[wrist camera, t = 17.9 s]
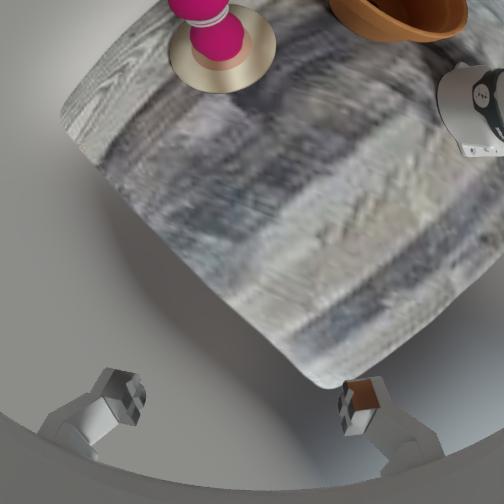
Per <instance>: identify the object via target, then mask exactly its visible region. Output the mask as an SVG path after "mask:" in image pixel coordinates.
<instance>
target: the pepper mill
mask: <svg viewBox="0 0 504 504" xmlns="http://www.w3.org/2000/svg"><path fill="white" fill-rule="evenodd" d="M168 2H169V6H170V8H171V10H172V11H173V12H174V13H175V14H176V15H177V16H178V17H180V18H182V19H185V21H186V22H187V23H188V24H190V25H192V26H191V29H190V41H191V43H192V45H193V47H194V48H195V49H196V50H197V51H198V52H199V53H201V54H203V55H204V56H205V57H207V58H208V59H210V60H212V61H226V60H229V59H232V58H233V57H235V56H236V55H237V54H238V53H239V52H240V50H241V49H242V45H243V38H244V28H243V25H242V23H241V21H240V20H239V19H238V18H237V17H236V16H235V15H234V14H232V13H230V12H228V10H229V5H228V2H229V0H168Z"/></svg>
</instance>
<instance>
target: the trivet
mask: <svg viewBox="0 0 504 504" xmlns="http://www.w3.org/2000/svg"><path fill="white" fill-rule="evenodd" d="M228 12H230V13H232V14H234V15H235V16H236V17H237V18H238V19H239V20H240V21H241V23H242V25H243V28H244V38H243V45H242V49H241V50H240V52H239V53H238V54H237V55H236V56H235V57H233V58H232V59H229V60H226V61H212V60H210V59H208V58H207V57H205V56H204V55H203V54H201V53H199V52H198V51H197V50H196V49H195V48H194V47H193V45H192V43H191V41H190V29H191V26H192V25H190V24H188V23H187V22H186V21H185V22H184V23H183V24H182V25H181V26H180V27H179V28H178V30H177V31H176V33H175V35H174V37H173V39H172V42H171V46H170V60H171V64H172V67H173V69H174V71H175V72H176V74H177V75H178V76H179V78H180V79H182V80H183V81H184V82H185V83H186V84H188V85H189V86H191V87H193V88H195V89H197V90H200V91H202V92H207V93H214V94H224V93H231V92H235V91H239V90H242V89H244V88H246V87H248V86H250V85H252V84H254V83H255V82H256V81H258V80H259V79H260V78H261V77H262V76H263V75H264V74H265V73H266V72H267V71H268V69H269V68H270V66H271V64H272V62H273V59H274V56H275V51H276V39H275V35H274V32H273V30H272V28H271V26H270V25H269V23H268V22H267V21H266V20H265V19H264V18H263V17H262V16H261V15H260V14H258V13H256V12H255V11H253V10H250V9H248V8H245V7H242V6H236V5H229V10H228Z"/></svg>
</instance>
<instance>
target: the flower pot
mask: <svg viewBox="0 0 504 504" xmlns="http://www.w3.org/2000/svg"><path fill="white" fill-rule="evenodd" d="M369 2H370V3H369ZM371 3H372V4H374V5H375V6H376V7H377V8H376V7H375V6H373V5H372V4H371ZM329 4H330V7H331V9H332V11H333V13H334V14H335V16H336V17H337V18H338V19H339V21H340V22H341V23H342V24H343V25H345V26H346V27H347V28H348V29H350V30H351V31H352V32H354V33H356V34H357V35H359V36H361V37H363V38H366V39H369V40H372V41H376V42H397V41H404V40H409V41H415V42H432V41H436V40H441V39H445V38H448V37H452V36H454V35H456V34H458V33H459V32H461V31H462V30H463V28H464V27H465V25H466V22H467V18H468V7H467V3H466V0H329Z"/></svg>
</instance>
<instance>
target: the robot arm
mask: <svg viewBox="0 0 504 504" xmlns="http://www.w3.org/2000/svg"><path fill="white" fill-rule="evenodd" d="M437 97H438V106H439V110H440V114H441V117H442V119H443V122H444V124H445V125H446V127H447V129H448V130H449V132H450V133H451V134H452V136H453V137H454V138H455V139H456V141H457V142H458V145H459V148H460V150H461V152H462V154H463V156H465V157H481V156H504V69H500V68H497V69H493V70H492V69H491V68H489V67H488V66H487V65H477V66H469V65H467V64H466V63H464V62H458V63H457V64H456V66H455V68H454V70H452V71H450V72H448V73H446V74H445V75H444V76H443V77H442V79H441V81H440V83H439V86H438V94H437ZM140 381H141V378H140V376H139V374H136V373H131V372H126V371H121V370H117V369H112V368H105V369H104V370H103V371H102V373H101V375H100V376H99V378H98V380H97V381H96V383H95V385H94V387H93V388H92V390H91V392H90V393H85V394H84V395H82V396H80V397H78V398H76V399H75V400H73V401H71V402H69V403H68V404H66V405H64V406H62V407H60V408H58V409H57V410H55V411H53V412H51V413H49V414H48V416H47V418H46V419H45V421H44V423H43V425H42V426H41V428H40V430H39V431H38V433H37V434H36V433H34V432H32V431H31V430H29V429H27V428H25V427H24V426H22V425H20V424H19V423H17V422H15V421H14V420H12V419H10V418H9V417H7V416H6V415H4V414H3V413H1V412H0V504H504V428H503V429H501V430H499V431H497V432H496V433H494V434H492V435H490V436H488V437H486V438H485V439H483V440H481V441H479V442H477V443H475V444H473V445H470V446H468V447H466V448H464V449H462V450H460V451H457V452H455V453H453V454H450V455H448V456H446V457H445V455H444V452H443V449H442V447H441V444H440V442H439V439H438V437H437V435H436V433H435V432H434V431H432V430H431V429H430V428H428V427H427V426H425V425H424V424H422V423H421V422H419V421H418V420H416V419H415V418H414V417H412V416H411V415H409V414H408V413H407V412H405V411H403V410H402V409H401V408H400V407H398V406H397V405H395V406H393V404H392V401H391V399H390V396H389V394H388V391H387V389H386V386H385V384H384V381H383V379H382V377H380V376H378V377H371V378H362V379H354V380H345V381H344V382H343V385H342V389H343V391H342V392H341V393H340V395H339V398H338V410H339V415H340V416H341V417H343V420H342V422H341V425H342V430H343V434H344V436H349V435H358V434H364V436H365V437H366V438H367V439H368V440H369V441H370V442H371V443H372V444H373V445H374V446H375V447H376V448H377V449H378V450H379V451H380V452H381V453H382V454H383V455H384V456H385V457H387V459H389V462H388V463H387V464H386V465H385V466H384V467H383V469H382V470H381V471H380V473H381V477H380V478H375V479H371V480H366V481H361V482H356V483H350V484H345V485H339V486H331V487H323V488H313V489H301V490H281V491H251V490H231V489H219V488H210V487H202V486H194V485H188V484H182V483H176V482H171V481H166V480H161V479H156V478H152V477H148V476H144V475H140V474H136V473H133V472H129V471H126V470H123V469H119V468H116V467H113V466H110V465H107V464H104V463H101V462H99V461H97V458H98V454H97V452H96V451H95V450H94V449H93V448H92V447H91V446H92V445H93V444H94V443H95V442H97V441H98V440H99V439H100V438H102V437H103V436H104V435H105V434H107V433H108V432H109V431H110V430H111V429H113V428H114V427H115V426H116V425H117V424H118V423H122V424H127V425H132V426H136V425H137V422H138V420H139V417H140V412H139V409H141V408H142V407H144V404H145V402H146V390H145V388H144V386H142V384H140Z"/></svg>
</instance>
